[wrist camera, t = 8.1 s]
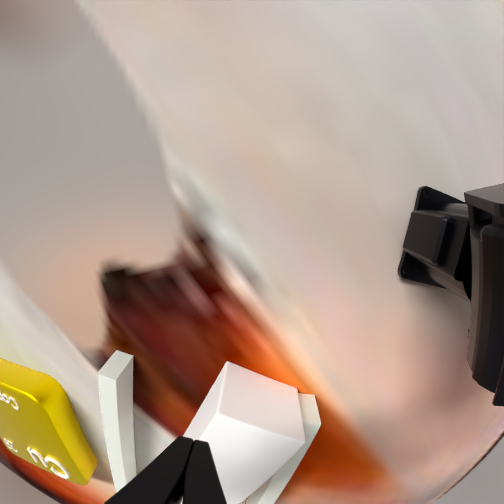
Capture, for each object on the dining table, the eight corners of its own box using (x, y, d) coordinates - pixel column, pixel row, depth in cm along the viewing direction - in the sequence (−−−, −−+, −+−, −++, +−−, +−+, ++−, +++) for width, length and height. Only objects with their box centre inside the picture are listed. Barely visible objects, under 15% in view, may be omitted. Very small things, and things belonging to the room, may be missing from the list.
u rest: (314, 394, 21) (321, 424, 18) (250, 516, 26) (249, 536, 22) (116, 350, 21) (97, 373, 17) (127, 488, 26) (120, 507, 22)
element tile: (62, 375, 22) (37, 402, 18) (103, 467, 25) (90, 493, 21) (-19, 348, 23) (-41, 364, 18) (22, 435, 26) (6, 453, 21)
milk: (227, 358, 21) (152, 482, 25) (216, 414, 15) (139, 520, 19) (299, 388, 21) (200, 500, 25) (309, 444, 15) (192, 538, 19)
